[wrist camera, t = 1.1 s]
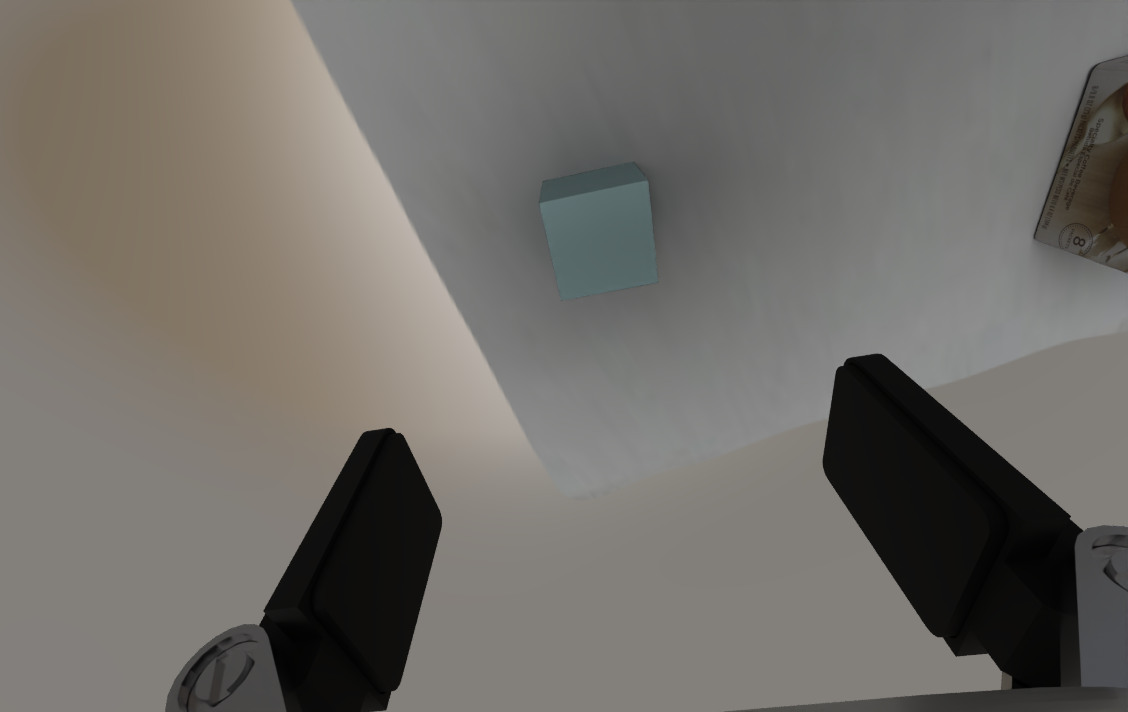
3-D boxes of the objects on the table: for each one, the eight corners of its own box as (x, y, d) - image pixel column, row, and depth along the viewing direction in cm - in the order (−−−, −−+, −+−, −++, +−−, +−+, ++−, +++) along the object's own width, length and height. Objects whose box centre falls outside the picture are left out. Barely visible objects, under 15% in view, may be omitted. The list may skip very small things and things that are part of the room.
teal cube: (633, 161, 25) (648, 180, 20) (643, 249, 27) (658, 282, 23) (543, 181, 25) (539, 203, 21) (561, 265, 28) (561, 300, 24)
